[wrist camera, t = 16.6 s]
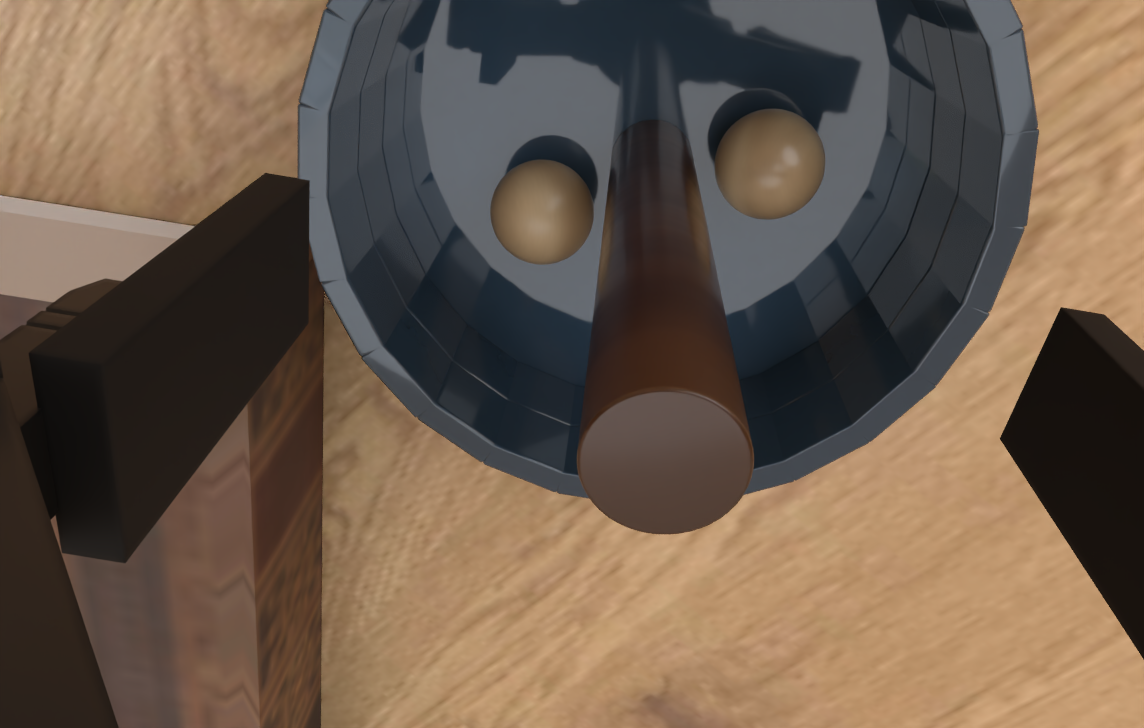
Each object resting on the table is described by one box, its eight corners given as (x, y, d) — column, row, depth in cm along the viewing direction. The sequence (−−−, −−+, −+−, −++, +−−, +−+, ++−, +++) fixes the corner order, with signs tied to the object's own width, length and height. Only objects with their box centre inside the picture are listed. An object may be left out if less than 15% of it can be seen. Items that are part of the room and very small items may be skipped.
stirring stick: (618, 112, 25) (592, 374, 11) (700, 126, 26) (775, 404, 11) (604, 192, 27) (564, 520, 12) (682, 206, 27) (730, 549, 12)
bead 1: (607, 154, 24) (502, 158, 23) (612, 262, 25) (511, 271, 24) (569, 160, 27) (475, 164, 26) (575, 257, 28) (482, 265, 27)
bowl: (378, -245, 23) (297, -292, 17) (1052, -129, 23) (1178, -138, 17) (354, 356, 31) (295, 450, 25) (850, 438, 31) (893, 549, 26)
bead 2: (726, 83, 25) (825, 85, 23) (761, 152, 27) (854, 160, 25) (679, 170, 24) (778, 180, 22) (720, 233, 26) (812, 247, 24)
